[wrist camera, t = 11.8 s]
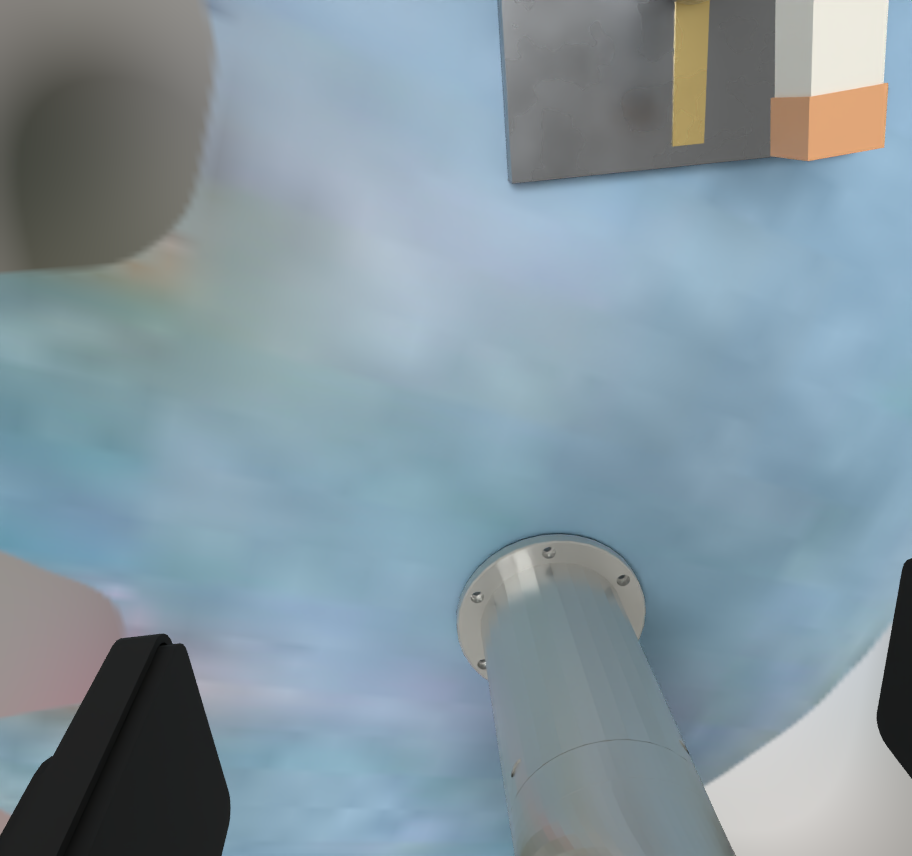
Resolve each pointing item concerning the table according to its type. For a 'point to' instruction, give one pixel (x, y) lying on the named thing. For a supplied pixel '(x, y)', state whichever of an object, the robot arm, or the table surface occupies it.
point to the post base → (634, 84)
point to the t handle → (828, 78)
